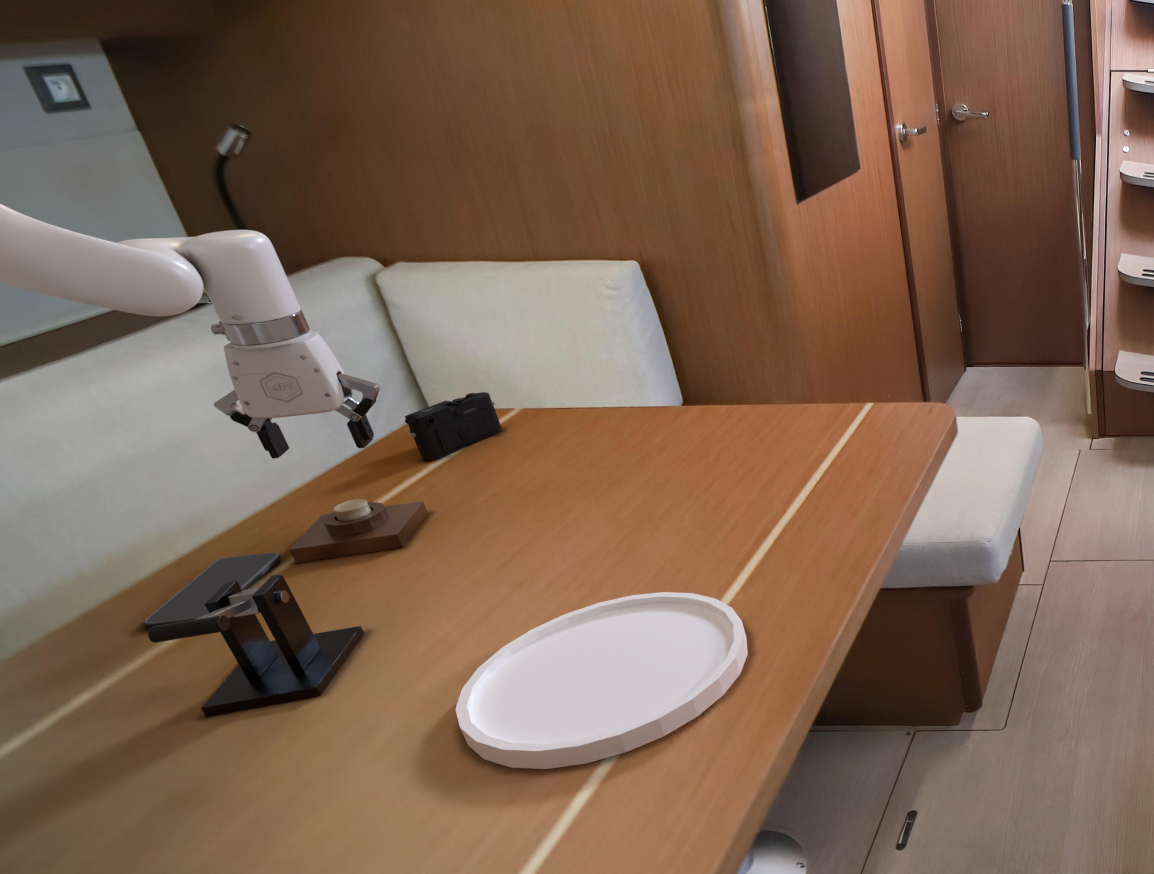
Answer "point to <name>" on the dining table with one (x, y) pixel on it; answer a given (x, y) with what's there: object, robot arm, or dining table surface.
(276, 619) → the bracket
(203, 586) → the smartphone
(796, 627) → the dining table surface
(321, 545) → the button box
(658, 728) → the plate
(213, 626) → the lever
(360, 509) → the button
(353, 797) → the dining table surface
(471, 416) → the camera
